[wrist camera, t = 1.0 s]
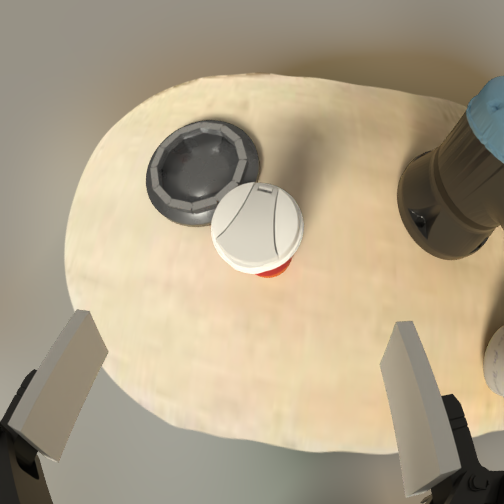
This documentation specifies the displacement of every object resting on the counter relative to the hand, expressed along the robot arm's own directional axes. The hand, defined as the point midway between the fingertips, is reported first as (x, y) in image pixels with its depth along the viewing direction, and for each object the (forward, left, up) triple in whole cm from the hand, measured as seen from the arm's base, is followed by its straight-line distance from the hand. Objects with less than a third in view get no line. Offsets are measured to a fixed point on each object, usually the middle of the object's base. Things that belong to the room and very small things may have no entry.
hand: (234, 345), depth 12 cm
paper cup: (+3, -8, -24) cm, 26 cm away
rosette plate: (+15, -17, -24) cm, 33 cm away
